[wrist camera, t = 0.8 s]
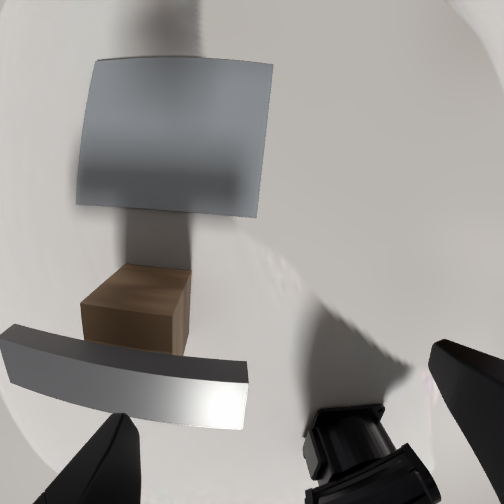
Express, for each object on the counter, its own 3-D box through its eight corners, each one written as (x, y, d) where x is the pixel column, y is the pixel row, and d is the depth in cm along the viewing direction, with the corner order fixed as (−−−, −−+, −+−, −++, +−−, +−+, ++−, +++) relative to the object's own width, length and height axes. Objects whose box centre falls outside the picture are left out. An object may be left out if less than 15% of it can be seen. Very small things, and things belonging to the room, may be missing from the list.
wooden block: (191, 270, 20) (172, 316, 13) (188, 332, 21) (173, 395, 14) (125, 263, 19) (80, 303, 12) (127, 324, 20) (91, 380, 13)
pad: (273, 65, 17) (273, 64, 17) (256, 217, 19) (256, 218, 19) (96, 62, 16) (95, 61, 16) (77, 204, 18) (76, 204, 18)
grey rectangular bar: (246, 361, 12) (248, 383, 10) (241, 406, 12) (242, 429, 11) (14, 323, 11) (-3, 337, 9) (24, 367, 11) (10, 382, 10)
